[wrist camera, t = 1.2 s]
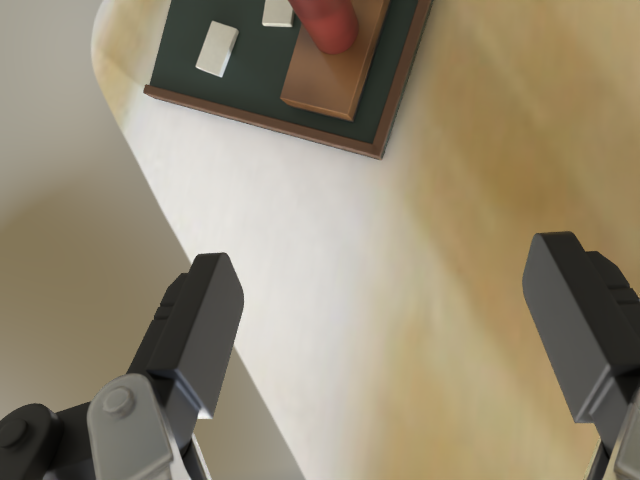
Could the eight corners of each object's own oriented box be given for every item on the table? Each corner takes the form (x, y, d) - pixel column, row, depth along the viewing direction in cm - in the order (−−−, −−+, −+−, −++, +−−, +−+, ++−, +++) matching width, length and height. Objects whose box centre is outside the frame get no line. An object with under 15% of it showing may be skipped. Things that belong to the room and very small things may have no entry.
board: (197, -69, 35) (187, -82, 33) (445, -37, 29) (446, -51, 28) (154, 98, 36) (142, 92, 35) (381, 160, 31) (379, 156, 29)
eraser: (331, -33, 30) (268, -196, 19) (399, -23, 29) (376, -193, 18) (289, 107, 32) (206, 33, 20) (354, 123, 30) (304, 54, 19)
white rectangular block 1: (215, 23, 33) (211, 20, 33) (239, 31, 33) (236, 28, 32) (198, 69, 34) (194, 66, 33) (222, 78, 33) (219, 75, 33)
